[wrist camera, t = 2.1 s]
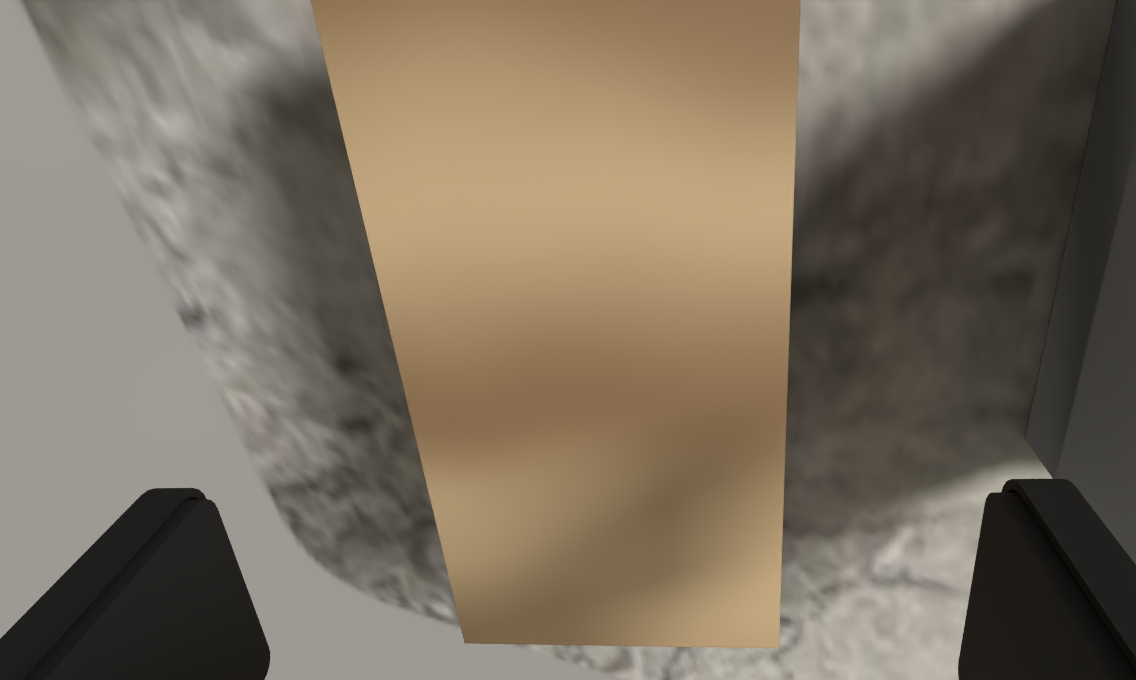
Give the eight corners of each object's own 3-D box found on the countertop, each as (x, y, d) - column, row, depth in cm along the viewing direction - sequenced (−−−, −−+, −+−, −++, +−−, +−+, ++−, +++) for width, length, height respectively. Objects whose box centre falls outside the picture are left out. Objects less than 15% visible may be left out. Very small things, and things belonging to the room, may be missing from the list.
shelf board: (359, -38, 11) (303, -31, 10) (780, -88, 10) (803, -90, 9) (485, 568, 17) (464, 643, 15) (765, 568, 16) (778, 648, 14)
